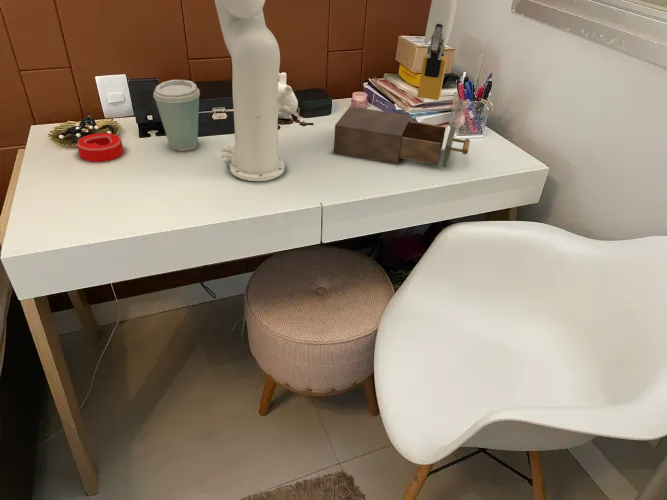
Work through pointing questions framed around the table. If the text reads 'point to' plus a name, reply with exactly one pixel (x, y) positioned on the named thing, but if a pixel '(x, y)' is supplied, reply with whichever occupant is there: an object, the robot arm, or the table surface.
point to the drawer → (428, 143)
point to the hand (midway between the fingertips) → (432, 73)
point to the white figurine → (285, 98)
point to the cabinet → (370, 134)
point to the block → (431, 81)
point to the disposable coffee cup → (179, 112)
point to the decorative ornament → (100, 147)
